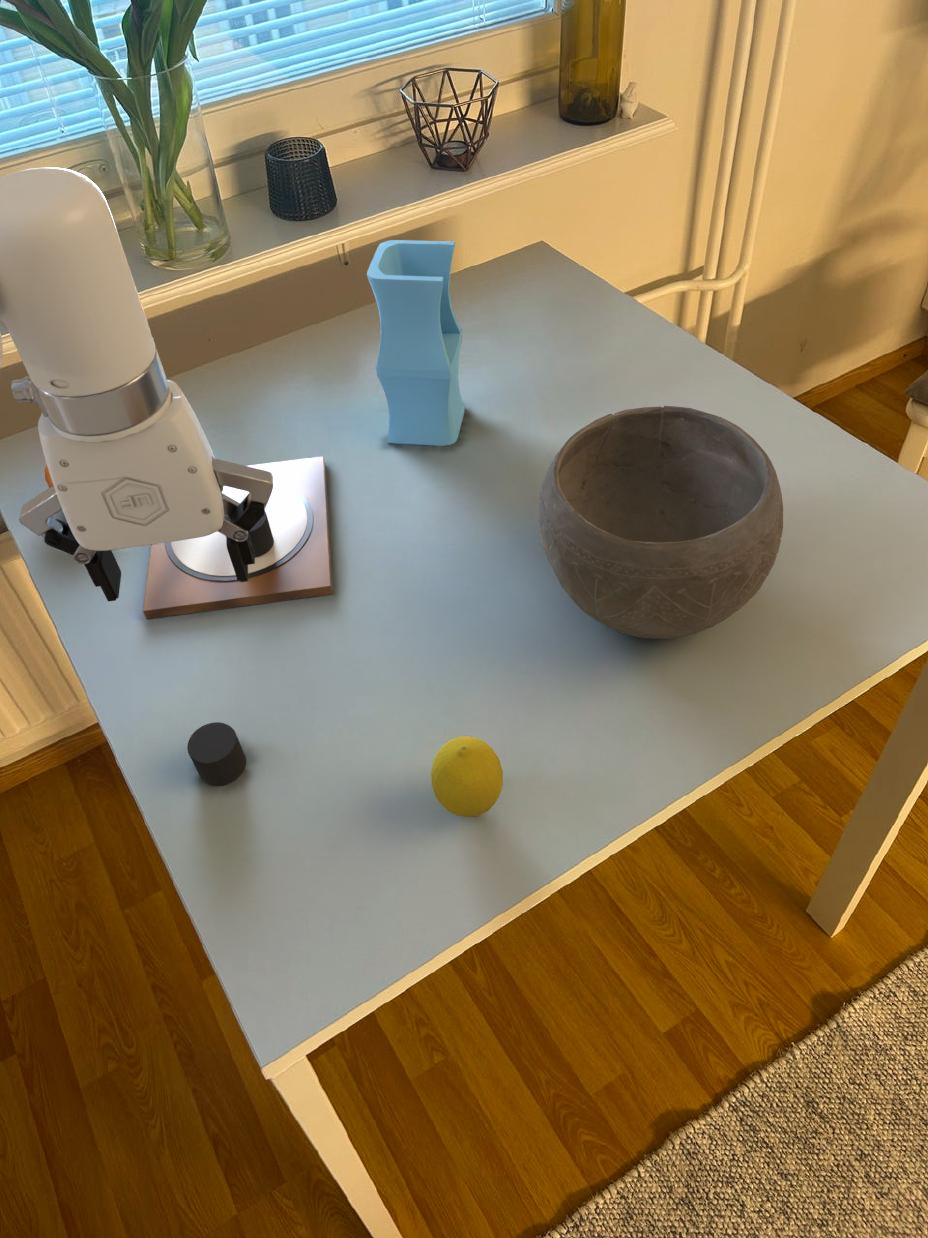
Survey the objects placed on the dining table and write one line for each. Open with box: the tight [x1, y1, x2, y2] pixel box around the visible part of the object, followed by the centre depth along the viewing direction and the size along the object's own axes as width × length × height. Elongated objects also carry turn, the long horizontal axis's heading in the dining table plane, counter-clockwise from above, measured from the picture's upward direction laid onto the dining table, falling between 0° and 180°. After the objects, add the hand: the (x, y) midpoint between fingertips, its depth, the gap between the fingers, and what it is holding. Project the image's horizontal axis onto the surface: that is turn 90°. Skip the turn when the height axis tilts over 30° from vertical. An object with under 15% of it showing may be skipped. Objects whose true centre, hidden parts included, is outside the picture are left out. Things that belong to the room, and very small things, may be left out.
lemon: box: [430, 735, 504, 818], centre depth 72 cm, size 6×6×8 cm
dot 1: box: [186, 721, 247, 787], centre depth 77 cm, size 4×4×4 cm
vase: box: [366, 239, 466, 447], centre depth 100 cm, size 8×8×20 cm
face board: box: [142, 455, 333, 620], centre depth 96 cm, size 18×20×1 cm
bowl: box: [538, 405, 784, 640], centre depth 83 cm, size 21×21×15 cm
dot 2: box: [249, 512, 274, 558], centre depth 93 cm, size 4×4×4 cm
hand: (179, 578), depth 71 cm, fingers open, 9 cm apart
